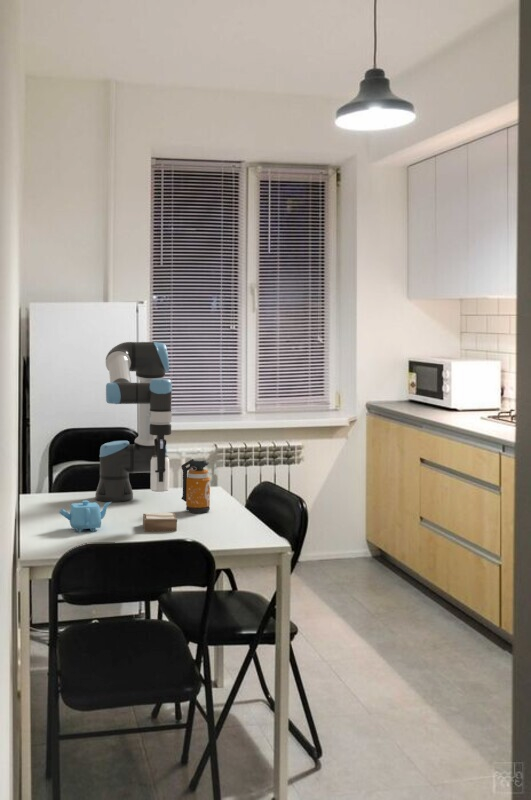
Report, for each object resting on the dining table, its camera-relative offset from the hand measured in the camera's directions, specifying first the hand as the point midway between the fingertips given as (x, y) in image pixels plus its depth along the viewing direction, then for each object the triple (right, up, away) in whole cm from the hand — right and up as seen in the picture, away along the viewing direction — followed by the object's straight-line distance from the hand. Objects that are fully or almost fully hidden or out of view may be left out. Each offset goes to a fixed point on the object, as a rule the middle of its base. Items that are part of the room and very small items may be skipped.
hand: (159, 488), depth 315 cm
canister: (+10, -12, +30) cm, 34 cm away
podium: (0, -14, +1) cm, 14 cm away
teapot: (-26, -14, -3) cm, 29 cm away
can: (0, -1, 0) cm, 1 cm away
